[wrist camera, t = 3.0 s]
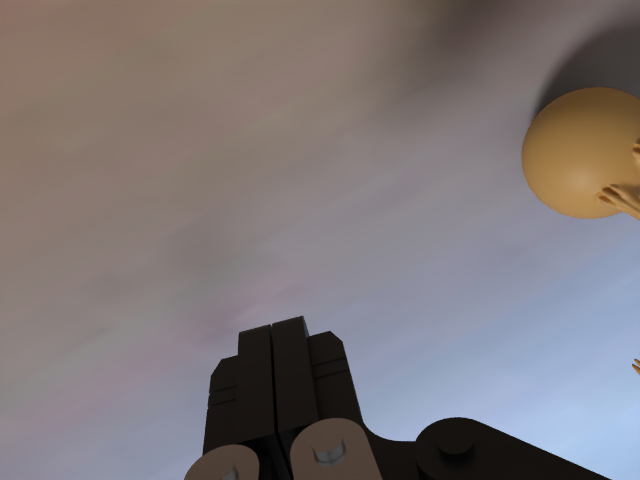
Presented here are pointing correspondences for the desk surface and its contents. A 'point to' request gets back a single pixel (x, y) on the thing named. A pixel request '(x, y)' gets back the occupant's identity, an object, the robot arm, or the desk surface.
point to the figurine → (586, 155)
